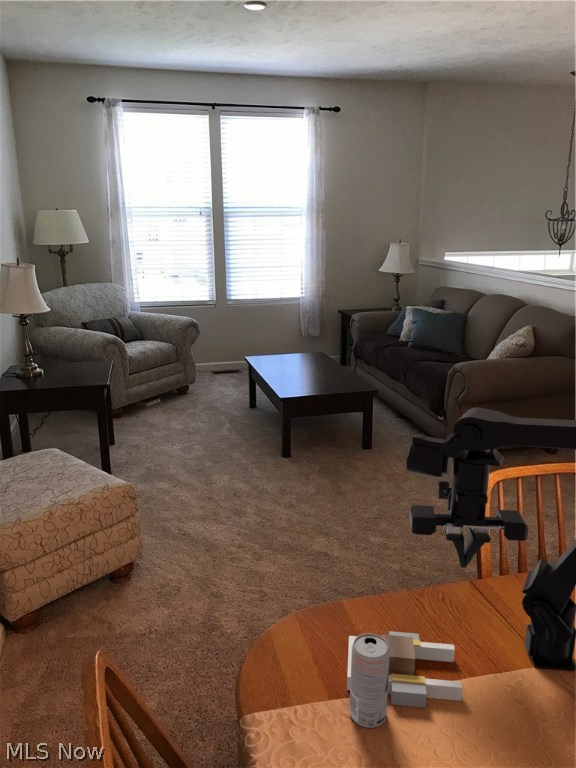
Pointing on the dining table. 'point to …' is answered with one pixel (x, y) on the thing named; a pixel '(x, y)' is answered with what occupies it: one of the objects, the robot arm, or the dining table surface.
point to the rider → (401, 654)
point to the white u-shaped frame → (418, 687)
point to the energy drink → (369, 680)
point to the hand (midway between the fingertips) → (462, 566)
